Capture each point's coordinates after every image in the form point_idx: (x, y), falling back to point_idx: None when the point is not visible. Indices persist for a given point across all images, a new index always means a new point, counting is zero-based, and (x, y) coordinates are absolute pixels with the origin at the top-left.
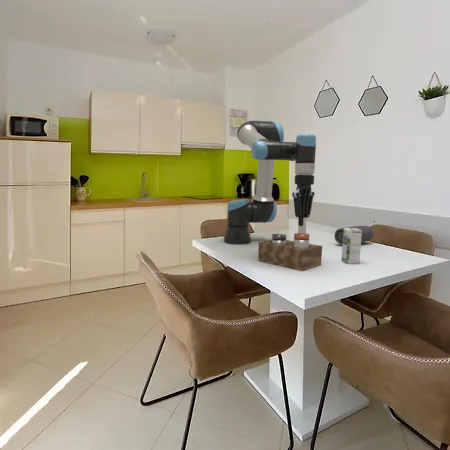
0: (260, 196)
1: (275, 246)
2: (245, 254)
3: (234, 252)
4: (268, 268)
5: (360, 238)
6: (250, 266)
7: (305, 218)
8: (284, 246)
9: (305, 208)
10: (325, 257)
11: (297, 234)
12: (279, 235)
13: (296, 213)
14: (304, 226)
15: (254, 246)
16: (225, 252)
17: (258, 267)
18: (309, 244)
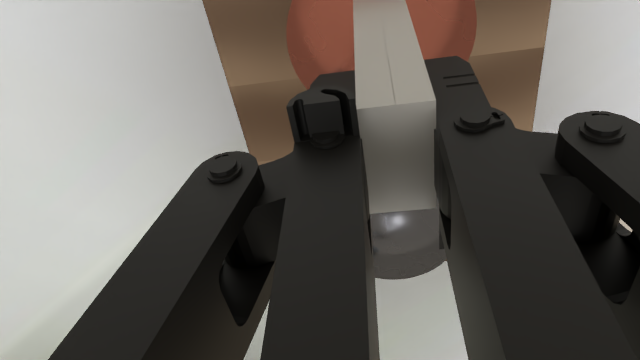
0: None
1: (529, 128)
2: (414, 282)
3: (423, 322)
4: (612, 18)
5: None
6: (636, 113)
7: (395, 98)
8: (515, 66)
9: (369, 288)
10: (17, 7)
11: (445, 50)
12: (418, 224)
13: (607, 239)
14: (403, 33)
15: (251, 348)
16: (456, 337)
17: (629, 72)
18: (234, 3)
